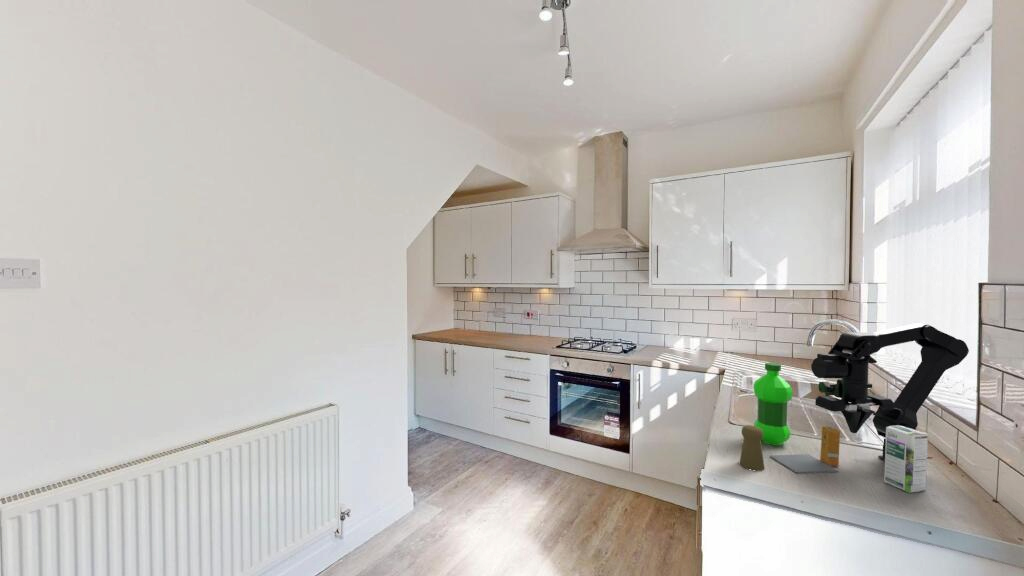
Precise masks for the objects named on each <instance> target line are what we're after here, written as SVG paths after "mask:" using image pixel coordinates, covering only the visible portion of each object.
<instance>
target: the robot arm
mask: <svg viewBox="0 0 1024 576" xmlns="http://www.w3.org/2000/svg"><path fill="white" fill-rule="evenodd" d="M914 341H915V344H917V345H919V346H920V347H921V349H920V351H919V352H920V357H921V362H920V363H919V365H918V366H917V367H916V369H915V371H914V372H913V374H912V375H911V376H910V378H909V380H908V381H907V382H906V384H905V386H904V387H903V389H902V390H901V392H900V393H899V394H898V396H897V397H896V399H895V400H894V402H893V400H892V399H891V398H888V397H885V396H881V395H879V394H869V389H872V388H873V384H872V383H870V382H869V364H877V362H878V361H877V360H876V359H875V358H873V357H872V356H871V355H873V354H875V353H878V352H879V351H880V350H881V349H883V348H885V347H890V346H895V345H901V344H905V343H911V342H914ZM969 353H970V349H969V347H968V345H967V343H966V342H965V341H964V340H963V339H959V338H957V337H955V336H953V335H950V334H947V333H945V332H943V331H940V330H938V329H937V328H935V327H934V326H932V325H930V324H927V323H924V324H923V323H917V322H915V323H910V324H907V325H902V326H898V327H894V328H887V329H883V330H879V331H873V332H857V331H855V332H842V334H840V336H839V338H838V340H837V341H836V343H835V344H834V345H833V346H832V348H831V349H830V350H828V353H826V354H825V353H817V355H816V358H814V359H813V360H812V363H811V365H810V366H811V367H810V368H811V372H812V373H813V375H814V376H815V377H816V378H818V379H837V380H836V383H835V384H834V383H832V384H830V382H829V381H819V382H818V391H819V393H821V394H824V395H817V396H816V398H815V404H814V405H815V406H817V407H819V408H822V409H825V410H827V411H830V412H835V413H836V412H841V414H842V416H843V417H844V419H845V422H846V424H847V427H848V429H849V432H850V433H851V434H857V433H858V432H859V430H860V429H861V428H862V426H863V425H864V424H865V422H866V421H868V419H869V418H870V417H871V416H872V415H873V418H872V422H873V426H874V428H875V430H876V432H877V435H878V436H879V437H883V444H882V455H877V458H878V459H880V460H882V461H884V462H885V445H886V427H889V426H896V425H897V426H904V427H907V428H910V429H914V430H917V427H918V417H917V416H918V415H917V413H918V411H919V410H920V409H921V407H922V405H923V404H924V403H925V401H926V400H927V399H928V396H929V395H930V393H931V392H932V391H933V389H934V388H935V387H936V385H937V383H938V382H939V381H940V379H941V378H942V376H943V375H944V373H945V372H946V371H947V370H949V369H951V368H953V367H956V366H957V365H960V363H962V362H963V360H964V359H965V358H966V357H967V355H968V354H969ZM870 406H873V407H874V406H878V408H877V410H876V411H874V410H872V409H871V407H870Z"/></svg>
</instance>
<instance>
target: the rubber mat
mask: <svg viewBox="0 0 1024 576" xmlns="http://www.w3.org/2000/svg"><path fill="white" fill-rule="evenodd" d="M769 457H770V459H773V460H774V461H776V462H777V463H779V464H781V465H783V466H784V467H786V468H787V469H789V470H790V471H792V472H793V473H794V474H814V473H815V474H818V473H839V470H838V469H836V468H834V466H832V465H827V464H826V463H824V462H823V461H821V460H820V459H818V458H817V457H815V456H813V455H811V454H810V453H804V454H803V453H802V454H801V453H799V454H771V455H769Z"/></svg>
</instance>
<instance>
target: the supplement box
mask: <svg viewBox="0 0 1024 576" xmlns="http://www.w3.org/2000/svg"><path fill="white" fill-rule="evenodd" d="M840 439H841V430H839V429H837V428H836V427H832V426H828V425H827V426H826V425H822V427H821V440H820V442H821V443H820V459H819V460H820V461H822V462H824V463H826V464H827V465H829V466H831V467H838V466H840V465H839V460H840Z"/></svg>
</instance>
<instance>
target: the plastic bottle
mask: <svg viewBox="0 0 1024 576" xmlns="http://www.w3.org/2000/svg"><path fill="white" fill-rule="evenodd" d="M764 369H765V371H766V374H764V375H762V376H760V377H759V378H757V379H756V380H755V381H754V383H753V386H752V387H753V393H754V395H755V397H756V398H757V419H756V420H755V422H754V424H753V426H756V427H759V428H760V429H761V430H762V431H763V438H762V440H761V442H763V441H764V442H766V443H768V444H767V445H770V444H772V445H771V446H780V444H781V445H782V444H783V443H786V442H787V441H788V440H789V439H790V437H791V431H790V428H789V427H788V423H787V422H788V403H789V402H790V401H791V400H792V398H793V389H792V387H791V385H790V384H789V383H788V382H787V381H786V380H785V379H783V378H782V376H780V375H779V374H780V372H781V371H782V365H781V364H780V363H777V362H775V363H774V362H764ZM764 442H763V443H764ZM766 443H765V444H766Z"/></svg>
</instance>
